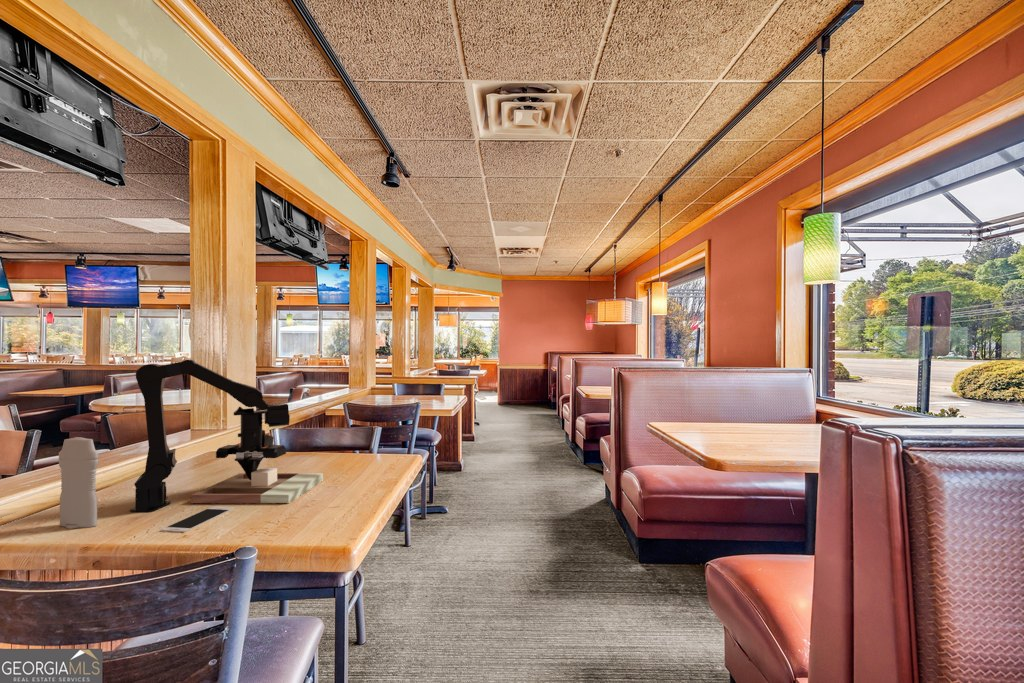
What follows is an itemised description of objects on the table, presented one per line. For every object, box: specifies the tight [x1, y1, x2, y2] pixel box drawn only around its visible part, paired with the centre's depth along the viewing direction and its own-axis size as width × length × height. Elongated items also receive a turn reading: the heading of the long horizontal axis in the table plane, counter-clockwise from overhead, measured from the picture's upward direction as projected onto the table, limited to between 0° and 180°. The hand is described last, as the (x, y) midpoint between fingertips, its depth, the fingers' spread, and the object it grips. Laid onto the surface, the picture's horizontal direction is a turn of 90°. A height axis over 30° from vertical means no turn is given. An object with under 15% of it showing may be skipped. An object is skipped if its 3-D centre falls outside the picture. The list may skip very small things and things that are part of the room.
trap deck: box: [190, 472, 324, 504], centre depth 133 cm, size 21×28×2 cm
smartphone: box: [160, 505, 236, 533], centre depth 112 cm, size 7×15×1 cm, turn 172°
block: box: [251, 467, 278, 486], centre depth 133 cm, size 5×5×4 cm
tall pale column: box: [58, 436, 99, 530], centre depth 109 cm, size 11×4×22 cm, turn 84°
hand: (251, 479), depth 133 cm, fingers closed
